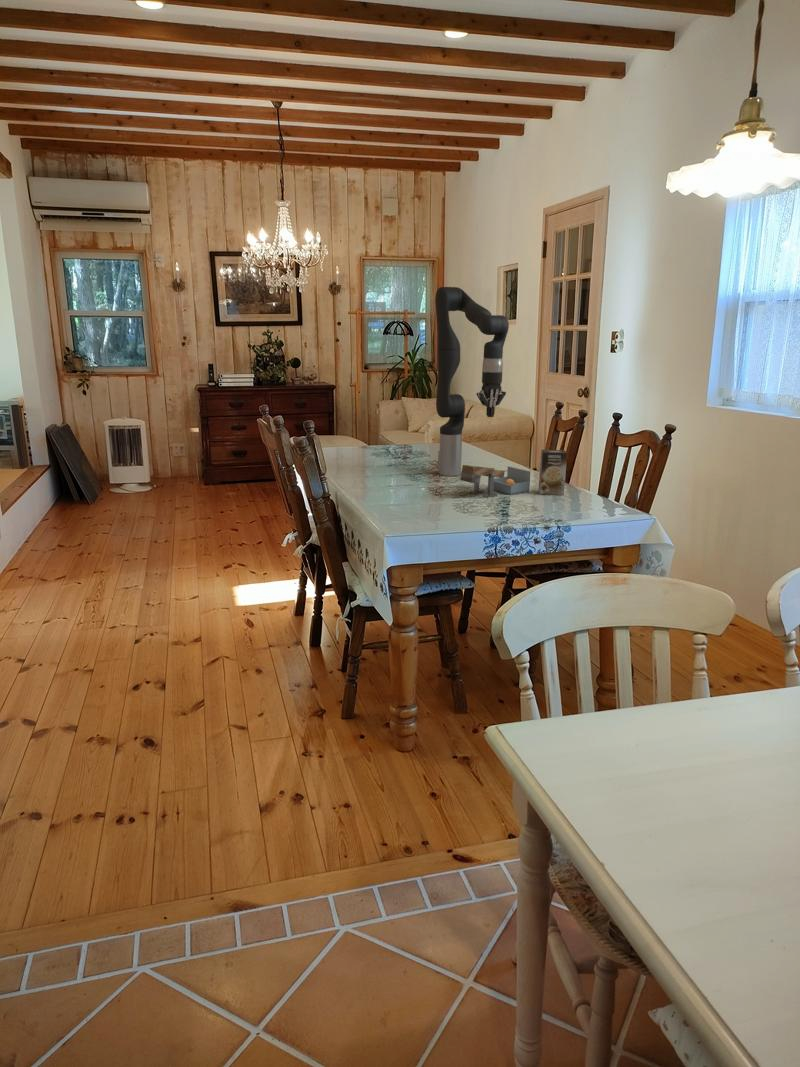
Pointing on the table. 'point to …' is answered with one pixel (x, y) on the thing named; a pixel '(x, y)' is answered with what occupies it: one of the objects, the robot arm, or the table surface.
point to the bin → (519, 478)
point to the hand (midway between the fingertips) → (490, 416)
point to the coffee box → (552, 472)
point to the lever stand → (490, 487)
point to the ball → (509, 482)
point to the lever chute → (478, 473)
